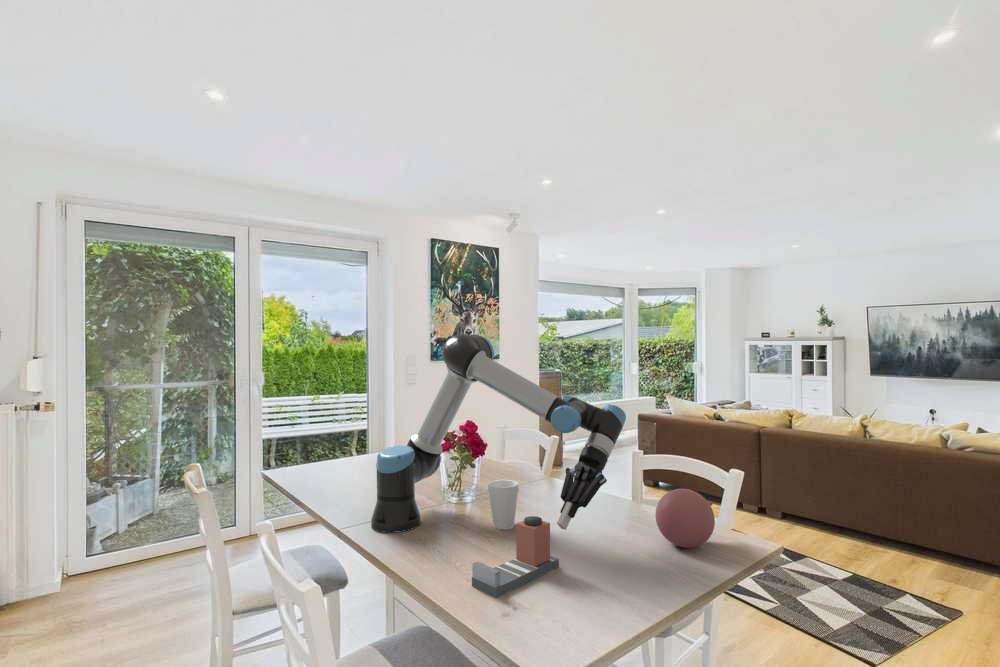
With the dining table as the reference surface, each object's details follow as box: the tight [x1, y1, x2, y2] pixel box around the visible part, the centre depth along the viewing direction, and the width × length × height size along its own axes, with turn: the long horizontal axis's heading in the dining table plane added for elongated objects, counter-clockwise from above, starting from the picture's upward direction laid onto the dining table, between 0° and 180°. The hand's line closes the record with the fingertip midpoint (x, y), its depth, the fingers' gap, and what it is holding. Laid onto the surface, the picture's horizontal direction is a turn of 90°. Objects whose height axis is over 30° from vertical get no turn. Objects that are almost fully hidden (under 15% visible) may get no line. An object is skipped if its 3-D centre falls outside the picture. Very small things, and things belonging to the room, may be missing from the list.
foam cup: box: [487, 479, 519, 530], centre depth 161 cm, size 10×9×13 cm
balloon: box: [655, 488, 716, 549], centre depth 145 cm, size 15×20×15 cm
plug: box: [515, 515, 551, 567], centre depth 130 cm, size 6×6×10 cm
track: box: [471, 556, 560, 598], centre depth 126 cm, size 22×8×5 cm, turn 135°
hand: (561, 526), depth 137 cm, fingers closed
